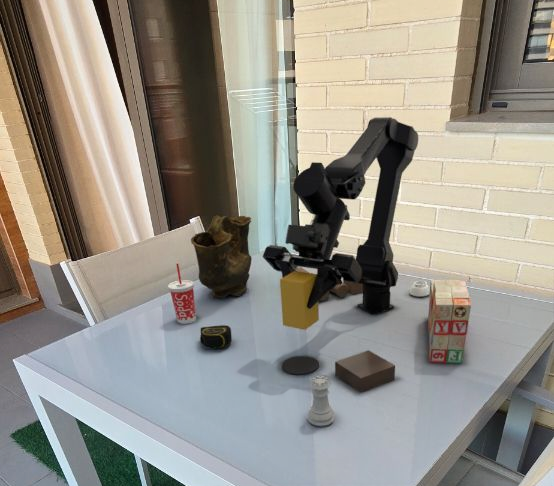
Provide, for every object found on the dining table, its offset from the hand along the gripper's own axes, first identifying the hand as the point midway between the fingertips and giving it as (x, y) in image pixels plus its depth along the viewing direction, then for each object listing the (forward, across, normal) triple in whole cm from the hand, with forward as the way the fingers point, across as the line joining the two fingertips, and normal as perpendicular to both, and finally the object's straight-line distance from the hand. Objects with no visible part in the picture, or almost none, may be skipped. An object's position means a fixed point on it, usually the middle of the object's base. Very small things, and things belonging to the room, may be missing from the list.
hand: (296, 305), depth 100 cm
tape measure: (+8, -23, +11) cm, 27 cm away
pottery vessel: (-11, -41, +30) cm, 52 cm away
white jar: (-24, +6, +43) cm, 50 cm away
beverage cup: (+3, -38, +16) cm, 42 cm away
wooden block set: (-20, -18, +40) cm, 48 cm away
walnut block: (+8, +13, +12) cm, 19 cm away
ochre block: (+2, 0, +4) cm, 4 cm away
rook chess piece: (+19, +13, 0) cm, 23 cm away
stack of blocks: (-8, +20, +27) cm, 35 cm away
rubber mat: (+9, -1, +10) cm, 14 cm away
